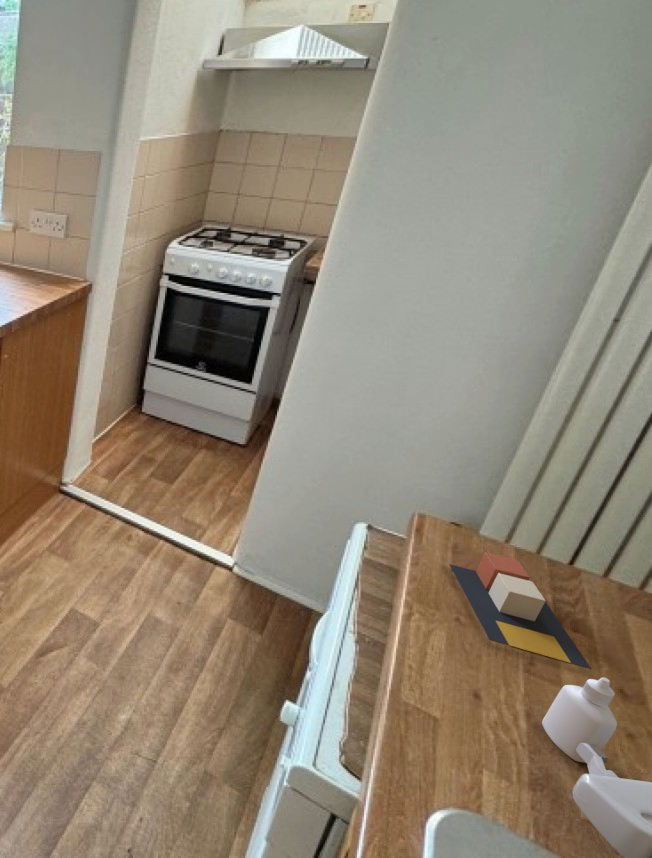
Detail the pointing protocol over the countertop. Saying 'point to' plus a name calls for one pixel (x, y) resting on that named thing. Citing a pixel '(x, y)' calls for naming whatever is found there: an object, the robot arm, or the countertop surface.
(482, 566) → the terracotta letter block
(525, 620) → the word mat
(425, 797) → the countertop surface
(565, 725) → the eye dropper bottle
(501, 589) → the cream cube
